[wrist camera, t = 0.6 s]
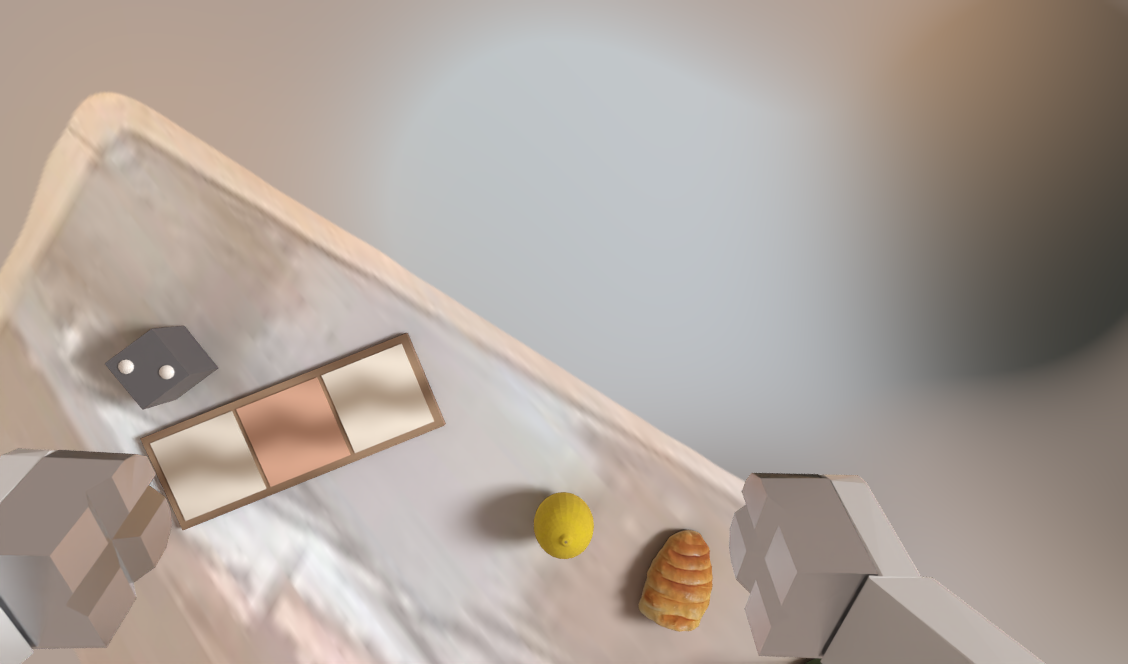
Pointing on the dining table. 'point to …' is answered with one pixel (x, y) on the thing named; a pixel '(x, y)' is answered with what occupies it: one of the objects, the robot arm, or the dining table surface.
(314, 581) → the dining table surface
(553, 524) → the lemon
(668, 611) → the pastry
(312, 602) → the dining table surface
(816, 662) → the character mug
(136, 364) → the die
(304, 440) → the board
